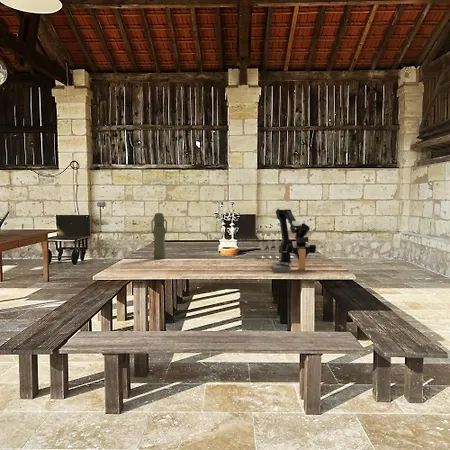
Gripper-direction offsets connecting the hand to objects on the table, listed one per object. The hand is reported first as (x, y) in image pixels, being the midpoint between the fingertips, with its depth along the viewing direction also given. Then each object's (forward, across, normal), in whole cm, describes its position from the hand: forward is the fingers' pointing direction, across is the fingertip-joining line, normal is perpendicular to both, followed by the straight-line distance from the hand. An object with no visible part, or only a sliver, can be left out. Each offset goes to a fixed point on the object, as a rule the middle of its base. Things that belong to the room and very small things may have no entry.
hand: (302, 259), depth 259 cm
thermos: (-26, -104, +36) cm, 113 cm away
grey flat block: (+6, -14, +4) cm, 15 cm away
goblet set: (-33, -13, +44) cm, 56 cm away
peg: (+4, 0, +6) cm, 7 cm away
